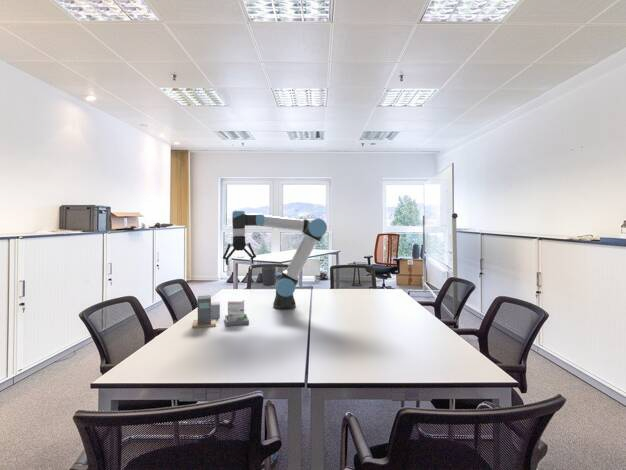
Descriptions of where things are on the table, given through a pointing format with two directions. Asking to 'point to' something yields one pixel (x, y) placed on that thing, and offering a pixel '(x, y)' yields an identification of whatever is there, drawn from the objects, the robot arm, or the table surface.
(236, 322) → the tray
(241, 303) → the ink box
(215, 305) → the grey block
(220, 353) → the table surface
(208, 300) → the mounted unit
